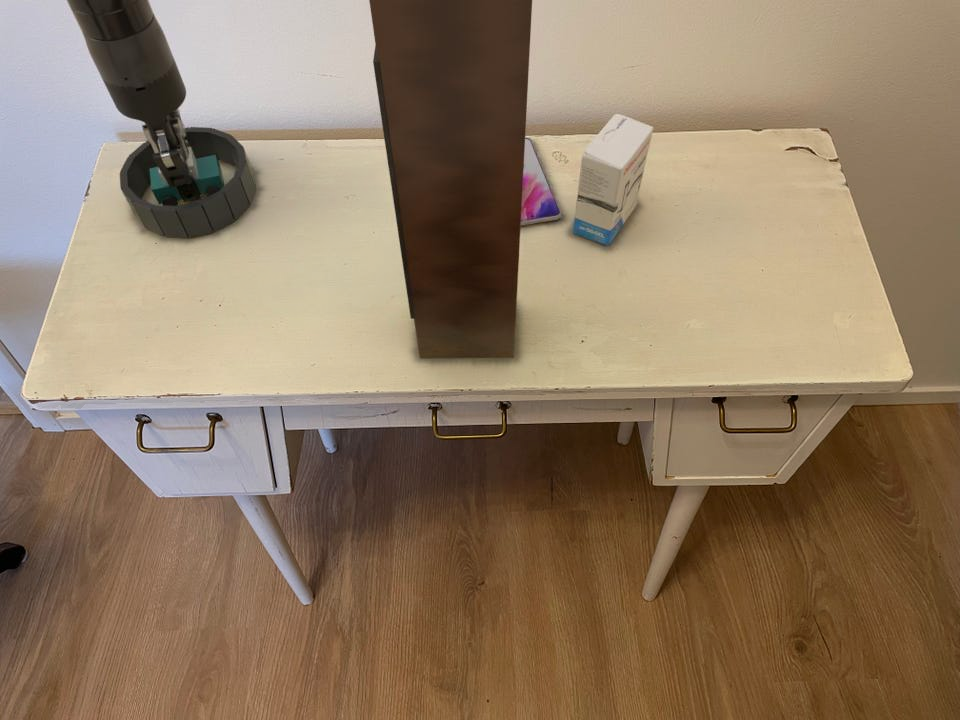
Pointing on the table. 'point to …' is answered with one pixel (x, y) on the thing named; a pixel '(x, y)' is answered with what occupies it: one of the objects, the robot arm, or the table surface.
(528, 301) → the table surface
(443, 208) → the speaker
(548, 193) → the smartphone
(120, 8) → the robot arm
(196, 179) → the toy car
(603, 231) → the ink box
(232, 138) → the segmented grey ring
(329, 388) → the table surface
